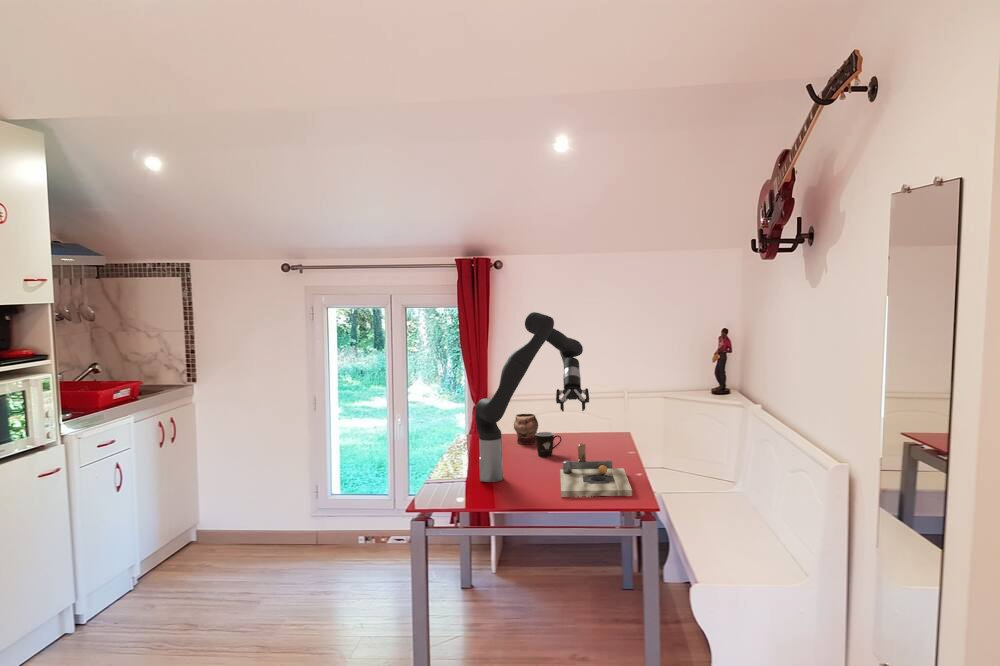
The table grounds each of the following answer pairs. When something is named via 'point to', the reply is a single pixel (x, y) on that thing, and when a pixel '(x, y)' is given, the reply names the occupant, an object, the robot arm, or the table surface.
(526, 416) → the decorative planter
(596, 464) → the catapult lever
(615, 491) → the board
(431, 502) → the table surface
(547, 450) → the coffee mug
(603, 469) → the ball
